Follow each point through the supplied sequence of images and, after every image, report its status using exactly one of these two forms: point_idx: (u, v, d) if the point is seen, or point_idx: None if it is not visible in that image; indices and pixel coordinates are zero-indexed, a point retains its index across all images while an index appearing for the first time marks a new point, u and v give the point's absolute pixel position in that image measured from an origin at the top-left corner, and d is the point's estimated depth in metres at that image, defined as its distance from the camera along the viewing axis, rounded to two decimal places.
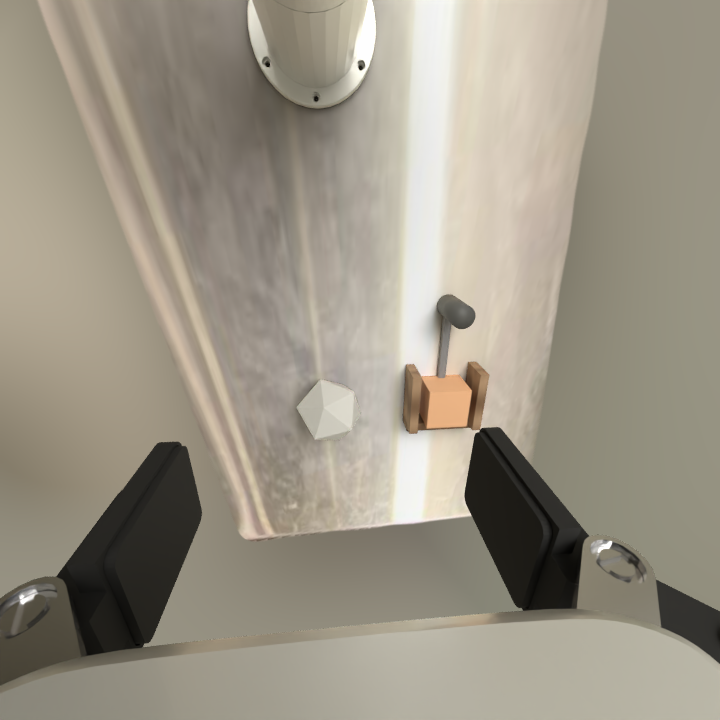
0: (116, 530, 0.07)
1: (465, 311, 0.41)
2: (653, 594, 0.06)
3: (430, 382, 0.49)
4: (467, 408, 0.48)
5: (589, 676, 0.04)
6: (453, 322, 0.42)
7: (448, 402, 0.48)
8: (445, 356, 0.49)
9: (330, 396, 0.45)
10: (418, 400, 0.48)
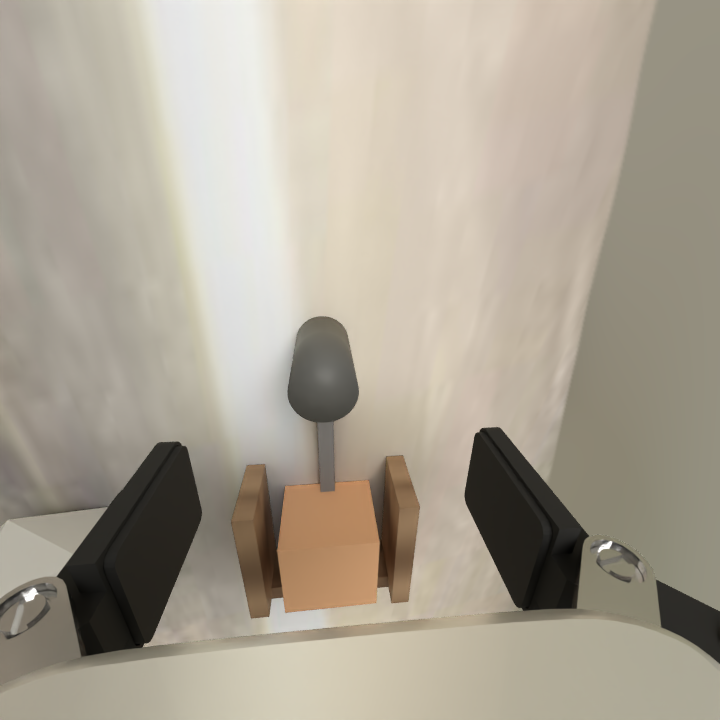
0: (116, 531, 0.07)
1: (326, 377, 0.14)
2: (653, 595, 0.06)
3: (296, 508, 0.22)
4: (373, 573, 0.21)
5: (589, 676, 0.04)
6: (295, 406, 0.14)
7: (327, 567, 0.21)
8: (330, 450, 0.22)
9: None
10: (256, 562, 0.20)
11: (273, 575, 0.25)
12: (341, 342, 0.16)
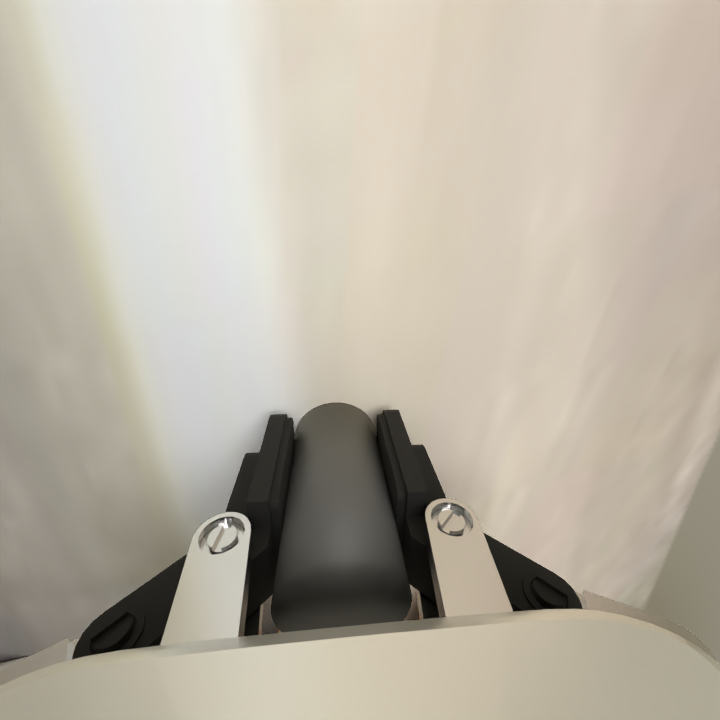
0: (272, 478, 0.08)
1: (349, 583, 0.07)
2: (480, 534, 0.08)
3: None
4: None
5: (589, 676, 0.04)
6: (287, 629, 0.07)
7: None
8: None
9: None
10: None
11: None
12: (371, 470, 0.09)
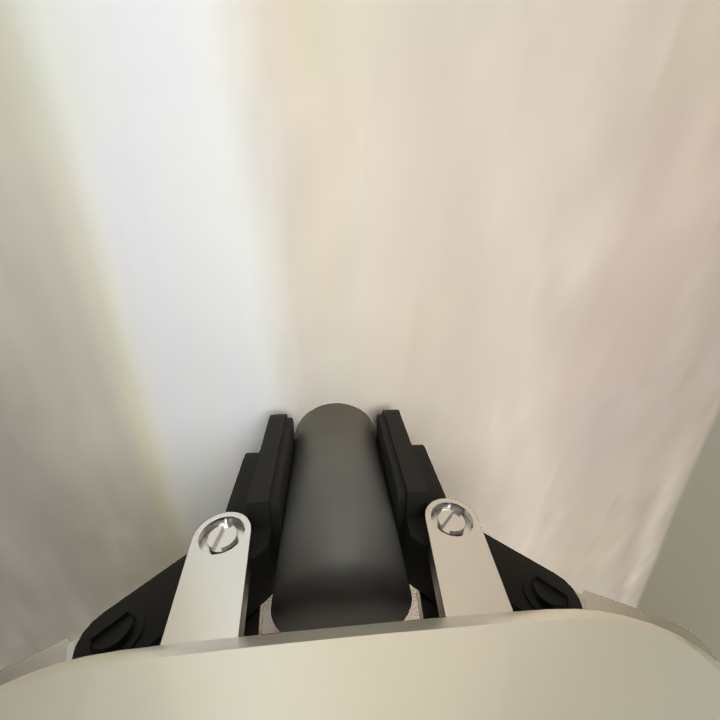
0: (272, 479, 0.08)
1: (349, 584, 0.07)
2: (481, 534, 0.08)
3: None
4: None
5: (589, 676, 0.04)
6: (288, 630, 0.07)
7: None
8: None
9: None
10: None
11: None
12: (370, 471, 0.09)
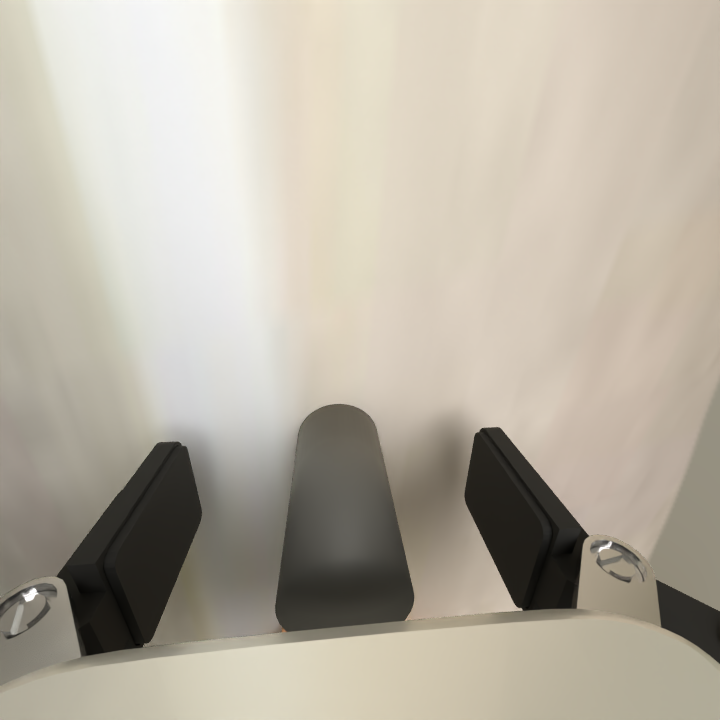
0: (117, 530, 0.07)
1: (352, 582, 0.07)
2: (653, 594, 0.06)
3: None
4: None
5: (589, 676, 0.04)
6: (291, 628, 0.07)
7: None
8: None
9: None
10: None
11: None
12: (373, 471, 0.09)
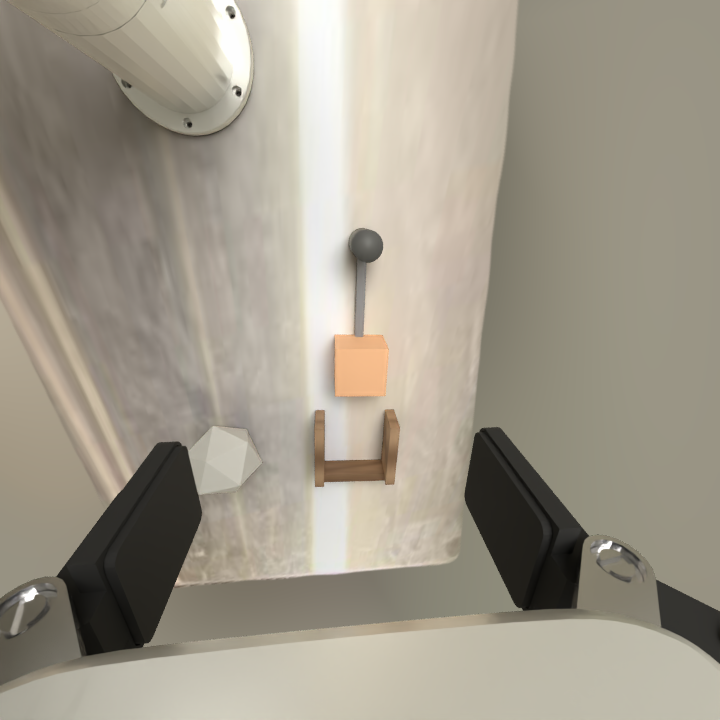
0: (116, 530, 0.07)
1: (369, 238, 0.32)
2: (653, 595, 0.06)
3: (342, 340, 0.40)
4: (384, 372, 0.39)
5: (589, 676, 0.04)
6: (355, 252, 0.33)
7: (360, 364, 0.38)
8: (362, 308, 0.40)
9: (218, 447, 0.40)
10: (322, 452, 0.43)
11: (324, 470, 0.47)
12: None
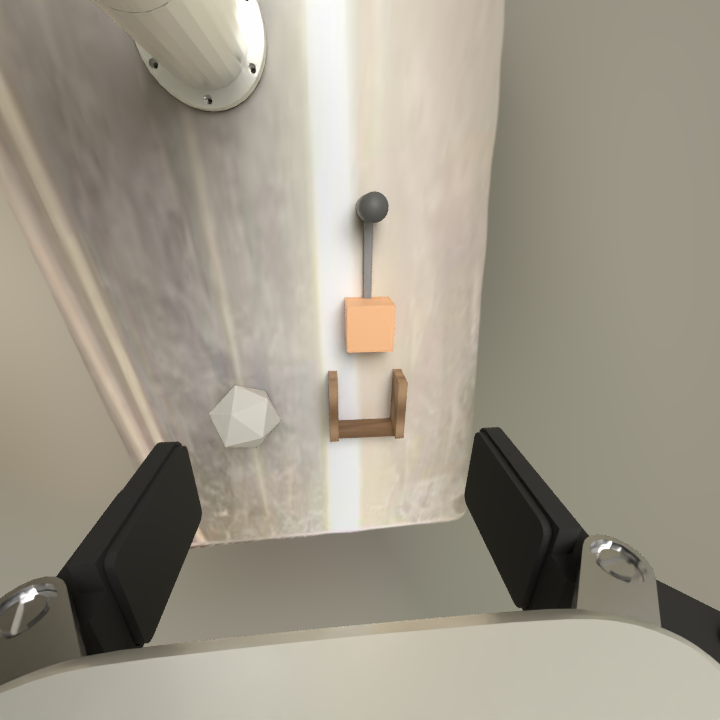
0: (117, 530, 0.07)
1: (376, 199, 0.36)
2: (653, 595, 0.06)
3: (352, 301, 0.44)
4: (392, 328, 0.42)
5: (589, 676, 0.04)
6: (363, 213, 0.36)
7: (369, 320, 0.42)
8: (370, 271, 0.44)
9: (241, 403, 0.44)
10: (336, 408, 0.47)
11: (338, 428, 0.51)
12: None
